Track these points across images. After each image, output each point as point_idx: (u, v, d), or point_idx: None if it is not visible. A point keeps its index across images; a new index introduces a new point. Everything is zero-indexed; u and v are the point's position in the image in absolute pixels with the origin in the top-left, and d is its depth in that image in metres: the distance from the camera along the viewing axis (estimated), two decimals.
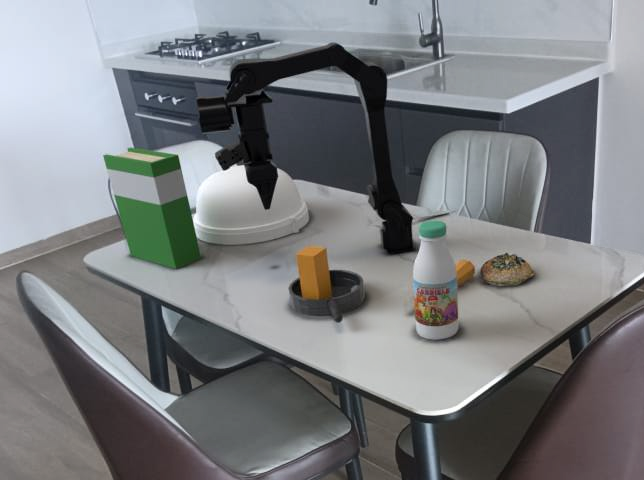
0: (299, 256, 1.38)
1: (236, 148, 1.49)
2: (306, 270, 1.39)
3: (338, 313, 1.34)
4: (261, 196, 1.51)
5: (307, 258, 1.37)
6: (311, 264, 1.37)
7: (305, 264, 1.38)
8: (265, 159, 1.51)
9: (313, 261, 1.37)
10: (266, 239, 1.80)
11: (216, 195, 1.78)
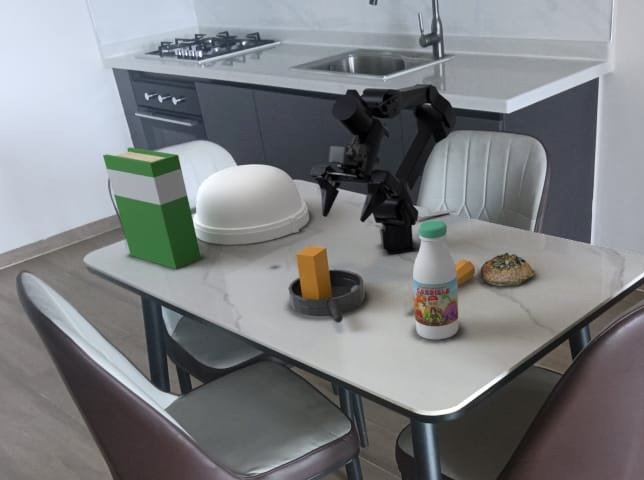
0: (299, 256, 1.38)
1: None
2: (306, 270, 1.39)
3: (338, 313, 1.34)
4: (369, 205, 1.45)
5: (307, 258, 1.37)
6: (311, 264, 1.37)
7: (305, 264, 1.38)
8: None
9: (313, 261, 1.37)
10: (266, 239, 1.80)
11: (216, 195, 1.78)
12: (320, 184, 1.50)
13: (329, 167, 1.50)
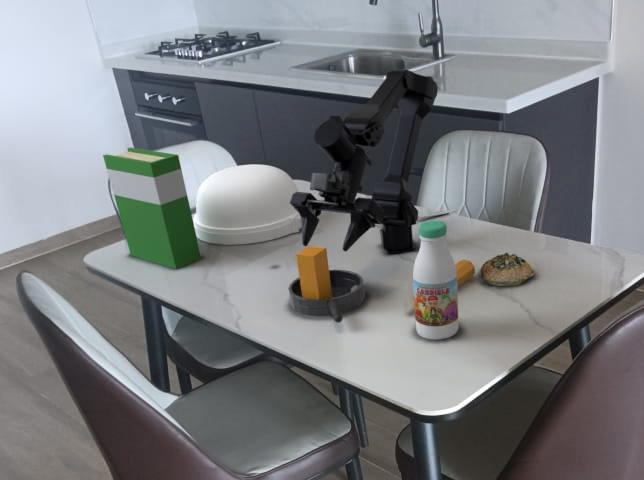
0: (299, 256, 1.38)
1: None
2: (306, 270, 1.39)
3: (338, 313, 1.34)
4: (352, 234, 1.40)
5: (307, 258, 1.37)
6: (311, 264, 1.37)
7: (305, 264, 1.38)
8: None
9: (313, 261, 1.37)
10: (266, 239, 1.80)
11: (216, 195, 1.78)
12: (300, 212, 1.44)
13: (310, 195, 1.44)
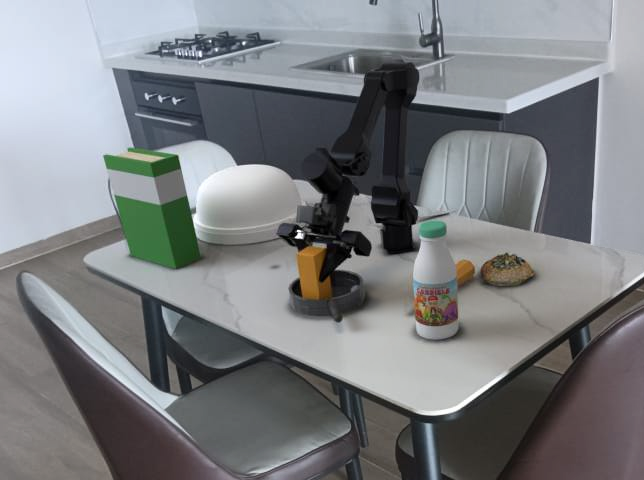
0: (299, 256, 1.38)
1: None
2: (306, 270, 1.39)
3: (338, 313, 1.34)
4: (328, 265, 1.39)
5: (307, 258, 1.37)
6: (312, 264, 1.37)
7: (305, 264, 1.38)
8: None
9: (313, 261, 1.37)
10: (266, 239, 1.80)
11: (216, 195, 1.78)
12: (297, 245, 1.41)
13: (296, 226, 1.42)
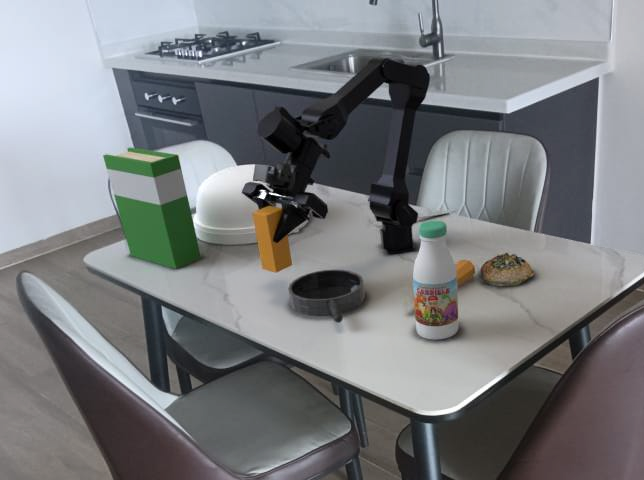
0: (255, 214, 1.39)
1: None
2: (261, 230, 1.40)
3: (338, 313, 1.34)
4: (282, 226, 1.39)
5: (261, 217, 1.38)
6: (265, 223, 1.38)
7: (260, 223, 1.39)
8: None
9: (266, 220, 1.38)
10: None
11: (216, 195, 1.78)
12: (258, 204, 1.42)
13: (260, 185, 1.43)
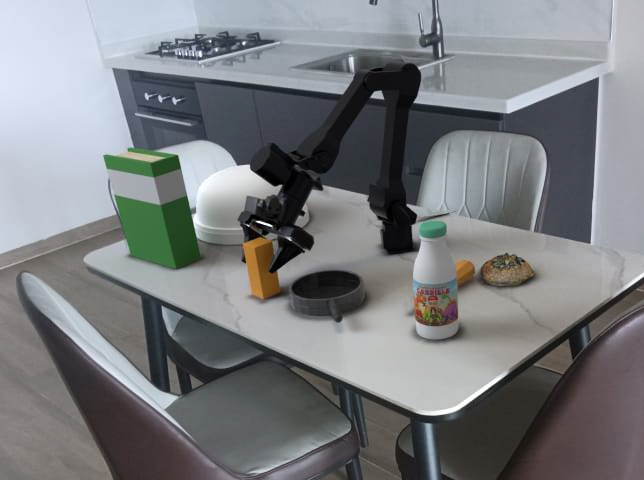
0: (245, 246, 1.46)
1: None
2: (250, 260, 1.47)
3: (338, 313, 1.34)
4: (278, 258, 1.44)
5: (250, 248, 1.45)
6: (253, 255, 1.45)
7: (249, 254, 1.46)
8: None
9: (254, 252, 1.45)
10: None
11: (216, 195, 1.78)
12: (244, 230, 1.51)
13: (255, 215, 1.50)
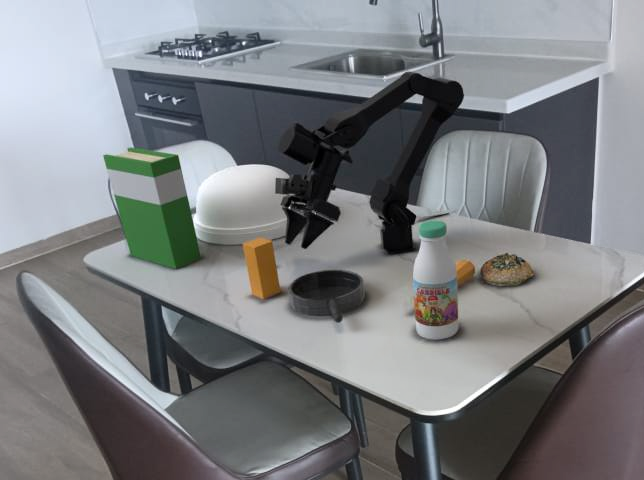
0: (245, 246, 1.46)
1: (304, 181, 1.49)
2: (250, 260, 1.47)
3: (338, 313, 1.34)
4: (307, 232, 1.48)
5: (250, 248, 1.45)
6: (253, 255, 1.45)
7: (249, 254, 1.46)
8: None
9: (254, 252, 1.45)
10: None
11: (216, 195, 1.78)
12: (285, 213, 1.58)
13: (293, 197, 1.57)
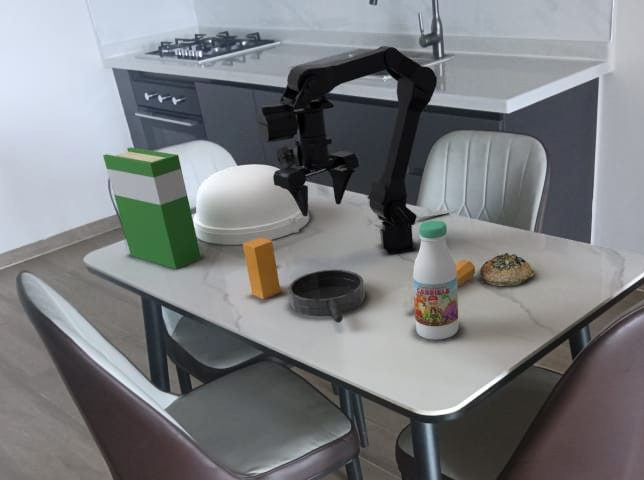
0: (245, 245, 1.46)
1: (293, 150, 1.51)
2: (250, 260, 1.47)
3: (338, 313, 1.34)
4: (296, 202, 1.52)
5: (250, 248, 1.45)
6: (253, 255, 1.45)
7: (249, 254, 1.46)
8: (311, 168, 1.49)
9: (254, 252, 1.45)
10: None
11: (216, 195, 1.78)
12: None
13: (329, 156, 1.55)
